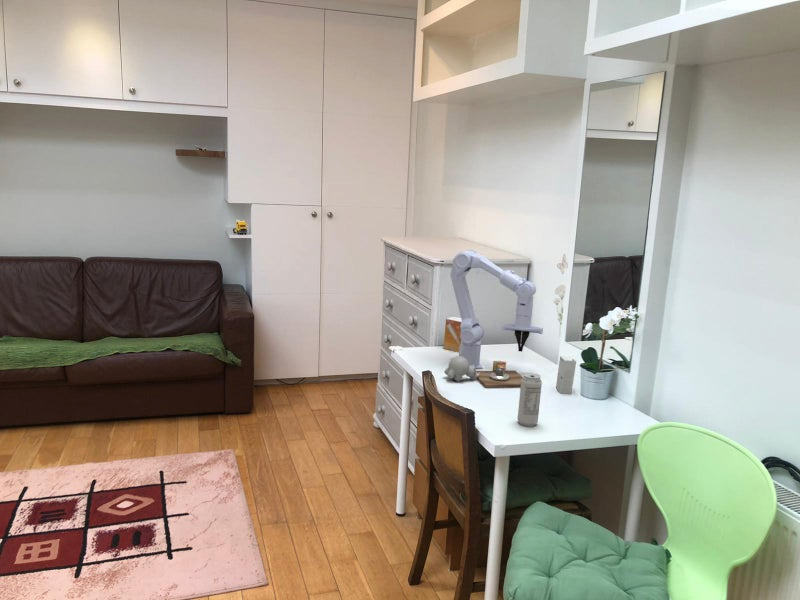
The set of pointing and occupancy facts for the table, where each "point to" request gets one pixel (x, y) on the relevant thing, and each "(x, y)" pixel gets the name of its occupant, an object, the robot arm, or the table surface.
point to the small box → (452, 334)
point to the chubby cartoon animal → (460, 369)
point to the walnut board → (488, 382)
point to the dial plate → (493, 375)
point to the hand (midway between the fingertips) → (520, 350)
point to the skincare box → (566, 374)
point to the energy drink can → (529, 399)
